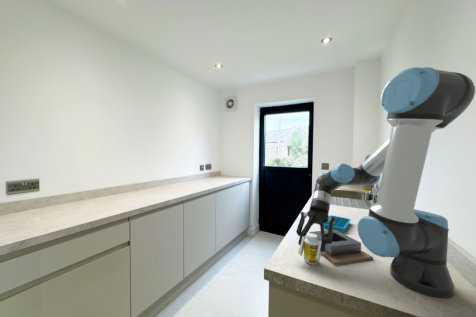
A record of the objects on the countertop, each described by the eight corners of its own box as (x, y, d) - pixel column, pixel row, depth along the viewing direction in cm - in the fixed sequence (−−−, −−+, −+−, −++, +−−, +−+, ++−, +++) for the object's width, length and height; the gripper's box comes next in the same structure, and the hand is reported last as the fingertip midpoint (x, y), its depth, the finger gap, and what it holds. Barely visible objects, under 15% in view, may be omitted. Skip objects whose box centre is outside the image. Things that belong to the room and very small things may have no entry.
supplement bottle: (309, 266, 70) (309, 238, 70) (300, 258, 75) (301, 232, 75) (322, 264, 71) (323, 237, 71) (313, 256, 77) (313, 231, 77)
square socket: (360, 252, 79) (361, 242, 79) (331, 256, 75) (331, 246, 75) (335, 237, 93) (335, 229, 93) (309, 240, 89) (309, 231, 89)
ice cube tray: (351, 224, 116) (351, 219, 116) (344, 234, 100) (344, 228, 100) (330, 219, 123) (330, 215, 123) (321, 228, 108) (321, 223, 108)
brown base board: (372, 259, 76) (372, 256, 76) (334, 264, 71) (334, 262, 71) (332, 236, 97) (332, 234, 97) (301, 239, 93) (301, 237, 93)
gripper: (345, 212, 80) (337, 269, 67) (300, 205, 91) (287, 253, 78) (343, 202, 76) (335, 261, 63) (297, 195, 87) (282, 245, 74)
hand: (308, 256), depth 70 cm, fingers closed on supplement bottle, 5 cm apart
